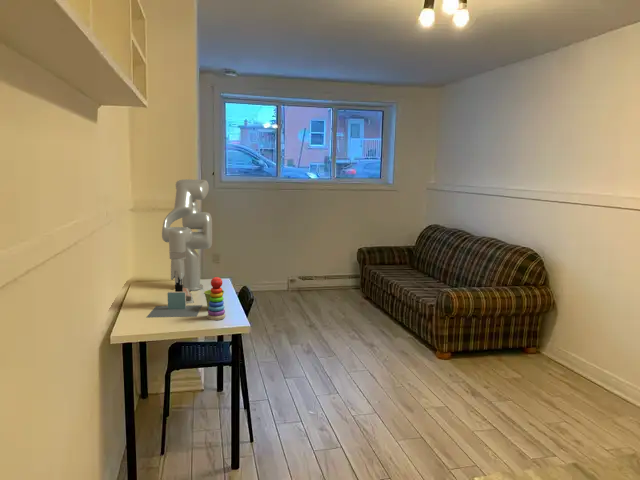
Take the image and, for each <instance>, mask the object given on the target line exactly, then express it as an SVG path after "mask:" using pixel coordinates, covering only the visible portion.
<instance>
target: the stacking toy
mask: <svg viewBox="0 0 640 480" xmlns="http://www.w3.org/2000/svg"><path fill="white" fill-rule="evenodd" d="M210 286H211V288H210V290H211V293H210V296H211V297H210V302H209V307H207V316H206V317H207V319H208V320H211V321H220V320H223V319H225V318H226V311H225V310H226V309H225V305H224V304H225V303H224V293H222V290H223V288H222V286H223V279H221V277H219V276H216V277H213V278H212V279H211V280H210ZM222 296H223V297H222ZM208 309H209V310H208Z"/></svg>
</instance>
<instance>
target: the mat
mask: <svg viewBox="0 0 640 480" xmlns="http://www.w3.org/2000/svg"><path fill="white" fill-rule="evenodd" d="M202 307H203V304H197V305H196V304H194V305H193V304H192V305H187V304H186V309H168V305H155V307H154V308H153V309H152V310H151V312H149V314H148V315H147V316H146V318H147V319H148V318H149V319H150V318H190V317H191V318H193V317H194V318H195V317H197V316H198V315H199V313H200V311H201V309H202Z"/></svg>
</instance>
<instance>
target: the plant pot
mask: <svg viewBox="0 0 640 480" xmlns="http://www.w3.org/2000/svg"><path fill="white" fill-rule="evenodd" d="M210 293H211V289H207V290H204V291H203V294H204V297H205V300H206V304H207V311H208V310H209V309H208V307H209V302H210V297H211V296H210ZM222 293H223V294H224V293H225V291H224V290H223V289H222ZM222 297H223V298H224V295H223V296H222Z"/></svg>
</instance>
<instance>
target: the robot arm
mask: <svg viewBox="0 0 640 480" xmlns="http://www.w3.org/2000/svg"><path fill="white" fill-rule="evenodd" d="M175 189H176V191H175V199H174V208H173V209H172V210H171V211H170V212H169V213H168V214H167V215H166V217H164V220H163V222H162V230H161V238H162V240H163V241H164V242H165V243H168V245H169V250H168V252H169V259H170V280H173V281H174V290H175V291H174V292H183V288H188V289H189V292H193V291H199V290H202V289H203V288H204V285H203V284H201V268H200V266H201V265H200V256H199V254H198V252H197V251H196V250H209V249H211V248H212V245H213V219H212V218H213V217H212V215H211V213H210V212H207V211H199V203H198V201H199V200H200V201H201V200H205V199H206V197H207V195H208V193H209V190H210V185H209V182H208V180H206V179H190V178H189V179H178V180H177V181H176V182H175ZM180 219H181V222H182V223H181V224H182V226H171V225H172V224H173V223H174V222H175V221H177V220H180ZM192 230H202V231H192Z"/></svg>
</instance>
